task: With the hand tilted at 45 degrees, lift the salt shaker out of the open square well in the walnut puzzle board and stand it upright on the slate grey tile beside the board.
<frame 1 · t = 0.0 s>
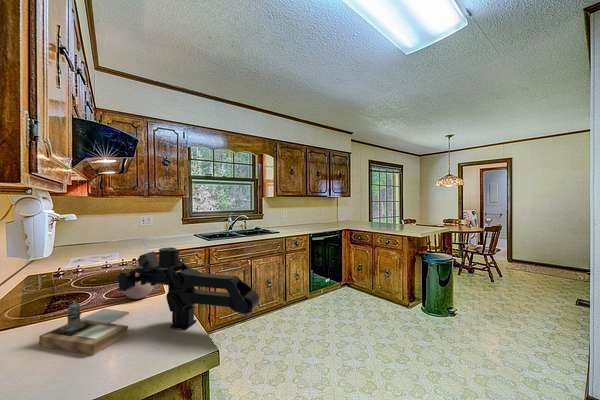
hand: (124, 273, 99), 17 cm above the table, tool horizontal, fingers open, 9 cm apart
slate tile: (101, 318, 97), on the table
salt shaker: (73, 338, 84), resting in puzzle board
mortar and pestle: (138, 298, 117), on the table
puzzle board: (85, 340, 82), on the table
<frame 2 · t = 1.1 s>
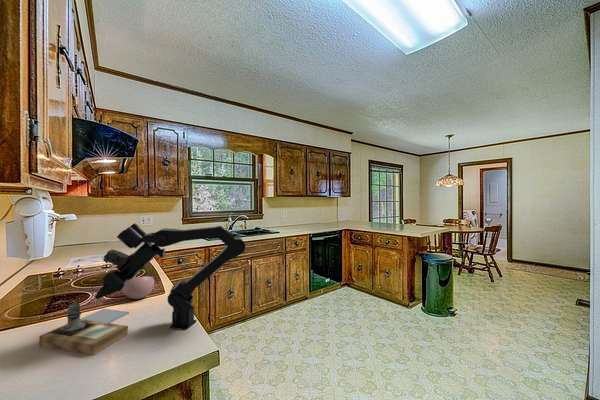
hand: (102, 293, 86), 14 cm above the table, tool tilted 45°, fingers open, 9 cm apart
nothing on the table moved.
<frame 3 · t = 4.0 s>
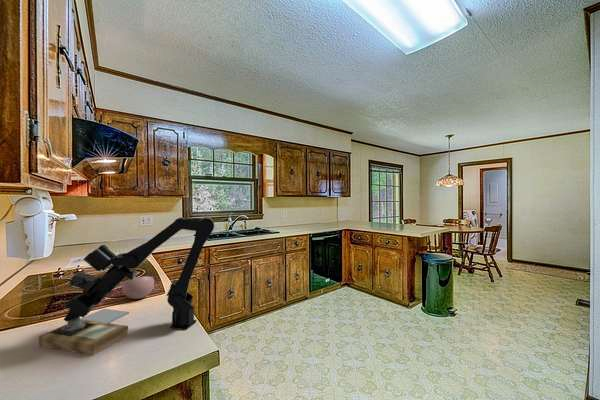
hand: (68, 317, 83), 7 cm above the table, tool tilted 45°, fingers closed on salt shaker, 4 cm apart
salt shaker: (73, 338, 84), resting in puzzle board, touching gripper
everything else where it was.
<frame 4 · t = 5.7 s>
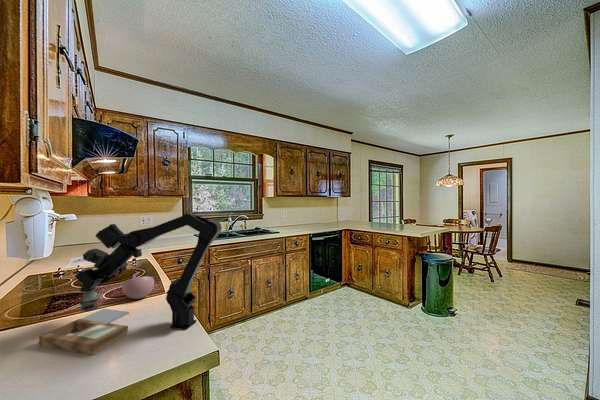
hand: (85, 289, 91), 13 cm above the table, tool tilted 45°, fingers closed on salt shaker, 4 cm apart
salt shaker: (89, 309, 91), point 6 cm above the table, touching gripper
everything else where it was.
when the fingers open (8 cm above the table, at t = 7.5 s): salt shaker stays where it is, resting on slate tile.
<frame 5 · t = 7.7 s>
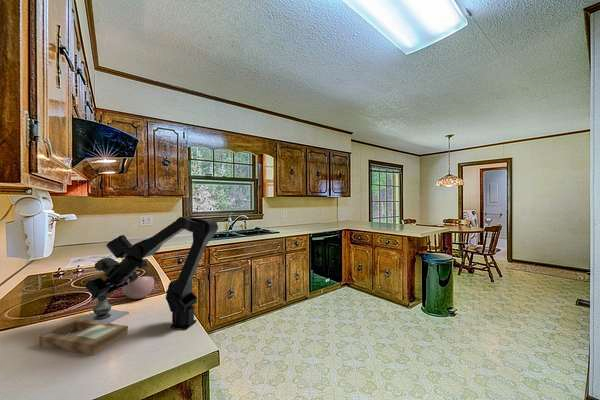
hand: (98, 295, 97), 8 cm above the table, tool tilted 45°, fingers open, 5 cm apart
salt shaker: (102, 317, 97), resting on slate tile
everything else where it was.
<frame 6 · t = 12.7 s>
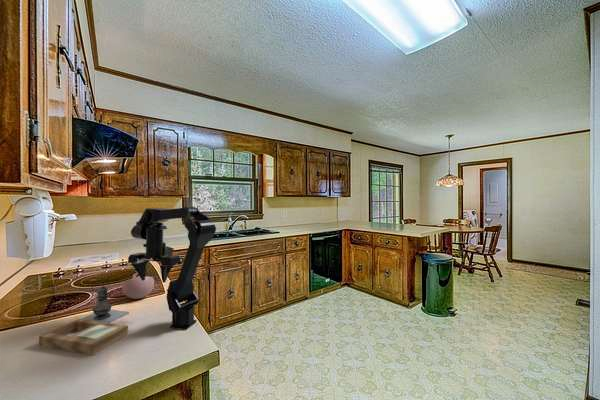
hand: (153, 281, 101), 13 cm above the table, tool pointing down, fingers open, 9 cm apart
nothing on the table moved.
at the end: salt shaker inside the target area on the slate tile (0.2 cm from its centre), point 0.4 cm above the slate tile's base; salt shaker tilted 0°; the gripper is holding nothing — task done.
